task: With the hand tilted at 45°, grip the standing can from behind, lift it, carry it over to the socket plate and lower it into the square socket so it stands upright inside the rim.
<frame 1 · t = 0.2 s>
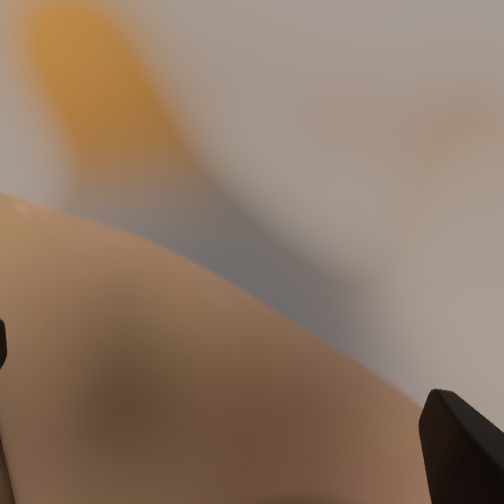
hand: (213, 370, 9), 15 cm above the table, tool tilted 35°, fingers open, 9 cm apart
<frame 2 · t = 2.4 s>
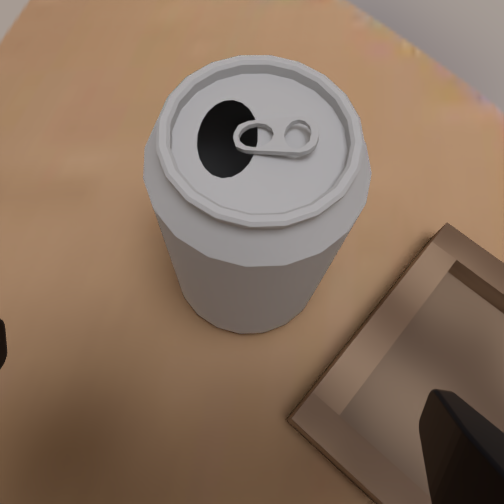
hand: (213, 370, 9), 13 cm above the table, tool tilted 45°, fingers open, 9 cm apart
can: (247, 270, 24), on the table
socket plate: (471, 408, 22), on the table
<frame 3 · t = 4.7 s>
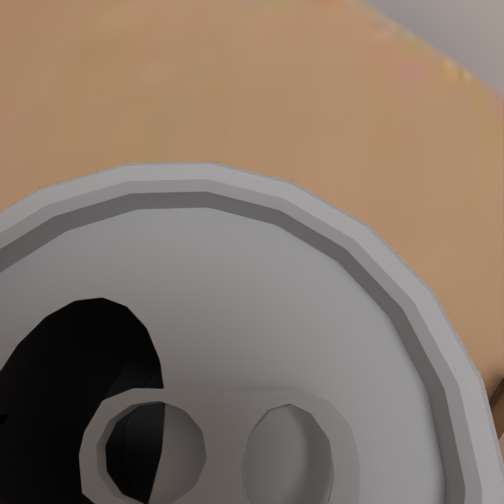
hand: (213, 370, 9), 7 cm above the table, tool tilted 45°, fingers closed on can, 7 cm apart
can: (213, 438, 15), on the table, touching gripper
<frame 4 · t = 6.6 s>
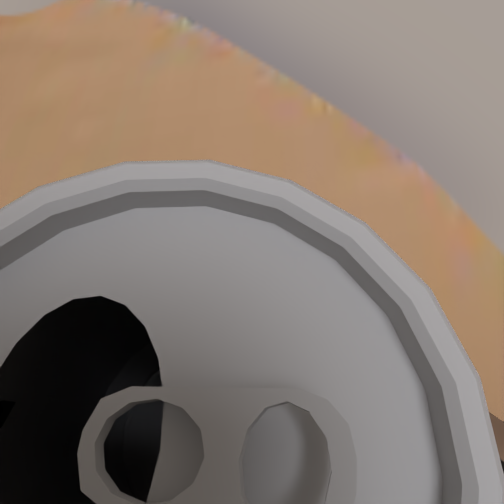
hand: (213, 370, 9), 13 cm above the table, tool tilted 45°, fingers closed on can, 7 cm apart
can: (212, 437, 15), point 6 cm above the table, touching gripper
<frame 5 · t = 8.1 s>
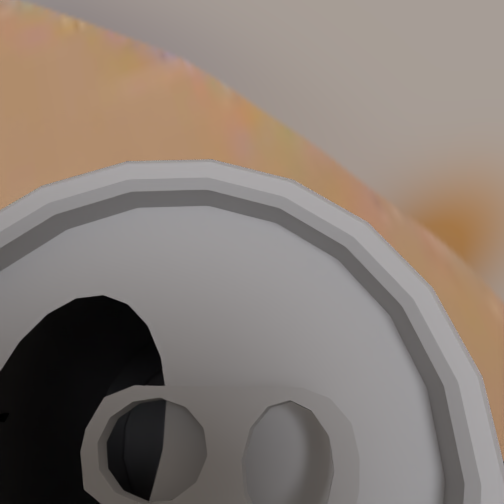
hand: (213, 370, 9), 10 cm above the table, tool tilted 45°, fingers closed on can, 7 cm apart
can: (213, 436, 15), point 3 cm above the table, touching gripper
when the fingers open (9 cm above the table, at t = 8.9 s): can drops 1 cm, resting on socket plate.
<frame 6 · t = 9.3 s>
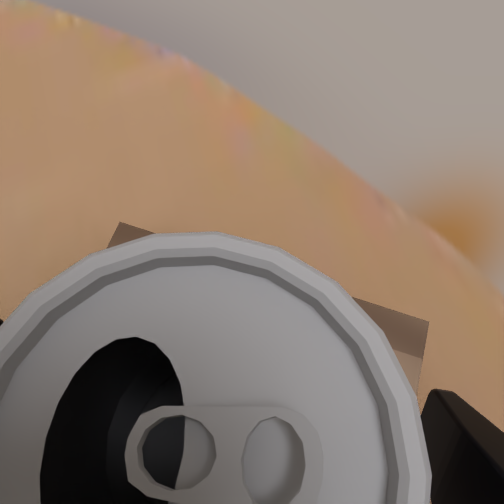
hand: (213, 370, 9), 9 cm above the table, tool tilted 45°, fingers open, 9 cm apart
can: (214, 443, 16), resting on socket plate
socket plate: (216, 437, 17), on the table
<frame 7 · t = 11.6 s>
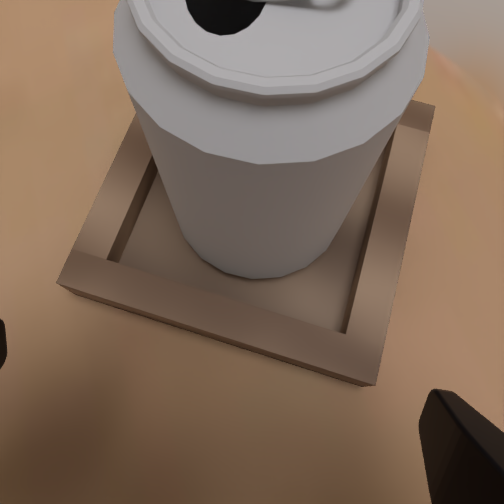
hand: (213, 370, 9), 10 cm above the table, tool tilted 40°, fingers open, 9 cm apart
can: (258, 207, 20), resting on socket plate
socket plate: (258, 206, 21), on the table
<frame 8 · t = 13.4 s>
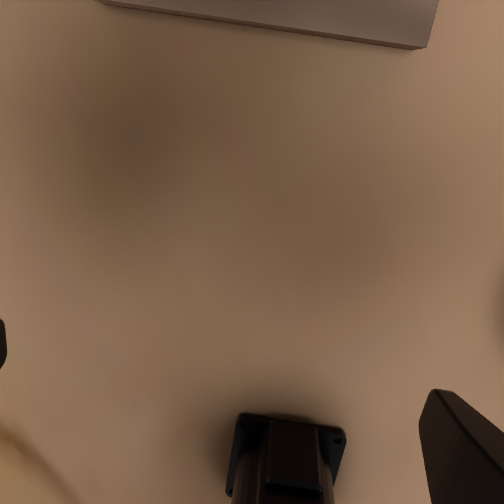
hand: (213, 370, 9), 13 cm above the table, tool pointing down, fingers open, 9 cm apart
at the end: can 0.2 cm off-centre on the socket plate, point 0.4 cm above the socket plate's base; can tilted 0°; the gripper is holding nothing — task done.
